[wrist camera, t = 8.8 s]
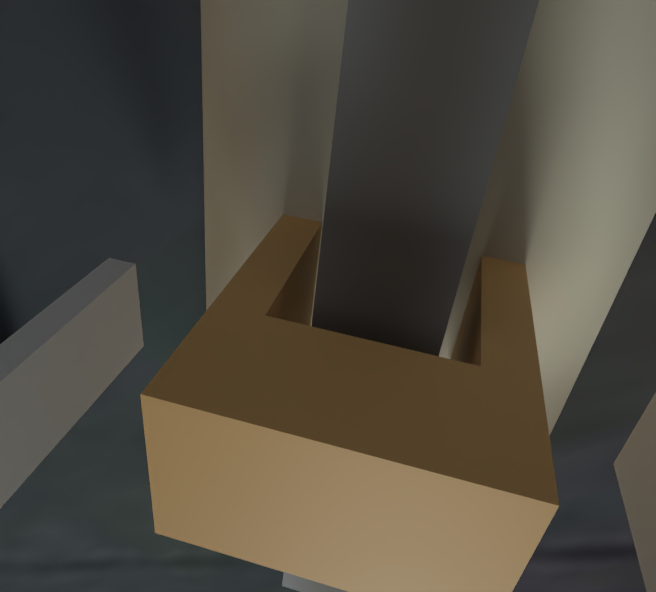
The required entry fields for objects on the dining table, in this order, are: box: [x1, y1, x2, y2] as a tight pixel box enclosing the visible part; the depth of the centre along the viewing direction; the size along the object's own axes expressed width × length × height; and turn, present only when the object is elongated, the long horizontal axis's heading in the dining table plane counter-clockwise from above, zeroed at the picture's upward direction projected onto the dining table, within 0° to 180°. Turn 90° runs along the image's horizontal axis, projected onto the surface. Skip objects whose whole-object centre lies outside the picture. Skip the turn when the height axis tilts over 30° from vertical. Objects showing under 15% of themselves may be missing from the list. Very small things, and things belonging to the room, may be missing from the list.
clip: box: [140, 214, 559, 592], centre depth 13 cm, size 7×4×8 cm, turn 84°
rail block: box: [201, 0, 656, 592], centre depth 15 cm, size 12×22×5 cm, turn 174°
